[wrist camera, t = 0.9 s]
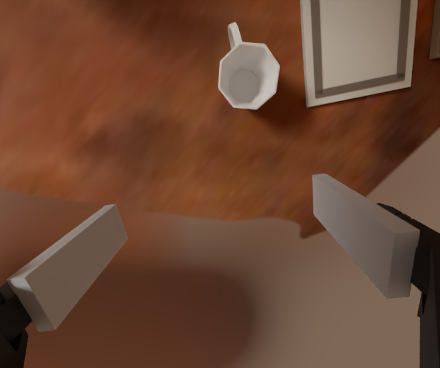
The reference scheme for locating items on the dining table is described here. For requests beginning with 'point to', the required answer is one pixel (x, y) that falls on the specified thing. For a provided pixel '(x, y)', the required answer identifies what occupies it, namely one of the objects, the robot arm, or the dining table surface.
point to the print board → (356, 47)
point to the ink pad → (435, 33)
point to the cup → (247, 72)
